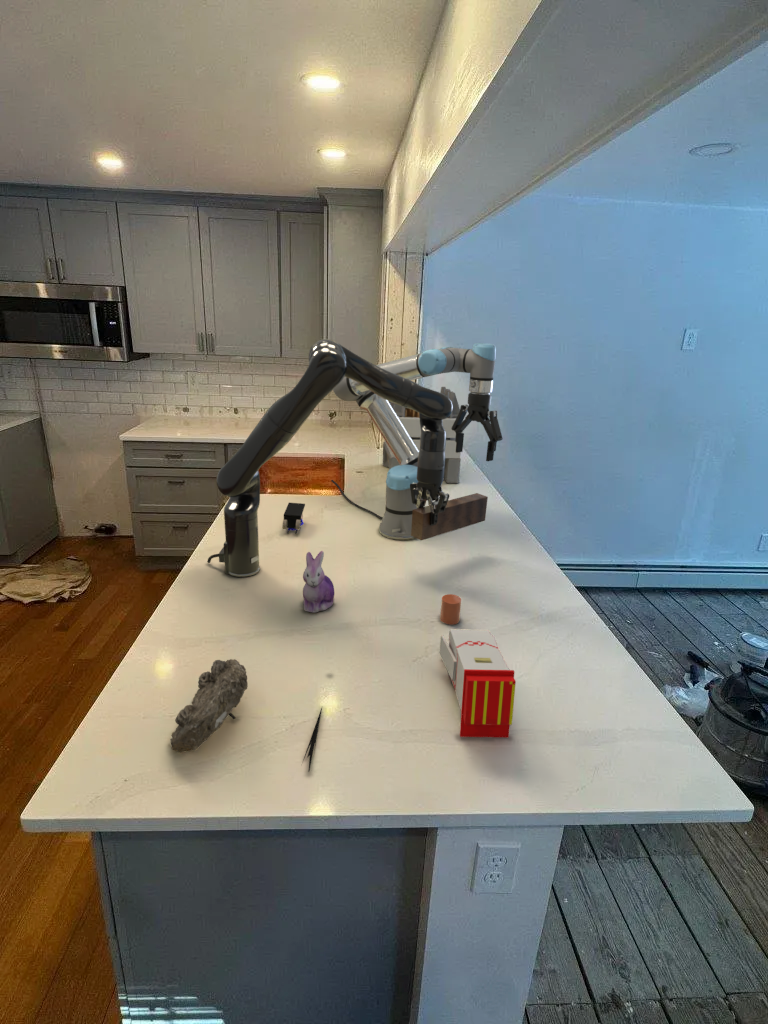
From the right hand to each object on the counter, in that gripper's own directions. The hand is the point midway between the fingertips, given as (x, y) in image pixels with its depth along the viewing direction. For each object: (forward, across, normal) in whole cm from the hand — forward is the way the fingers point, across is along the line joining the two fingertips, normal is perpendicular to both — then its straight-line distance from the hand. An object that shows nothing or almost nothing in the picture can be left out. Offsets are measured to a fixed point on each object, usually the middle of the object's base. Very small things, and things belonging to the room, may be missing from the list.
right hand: (473, 456), depth 192 cm
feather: (+29, +48, -96) cm, 111 cm away
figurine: (+29, +11, -71) cm, 77 cm away
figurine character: (+29, -39, -47) cm, 67 cm away
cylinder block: (+29, +37, -48) cm, 67 cm away
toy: (+29, +60, -66) cm, 94 cm away
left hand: (+11, +15, -36) cm, 41 cm away
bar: (+15, +15, -26) cm, 34 cm away
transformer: (+29, -67, +41) cm, 84 cm away
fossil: (+29, +35, -111) cm, 120 cm away
